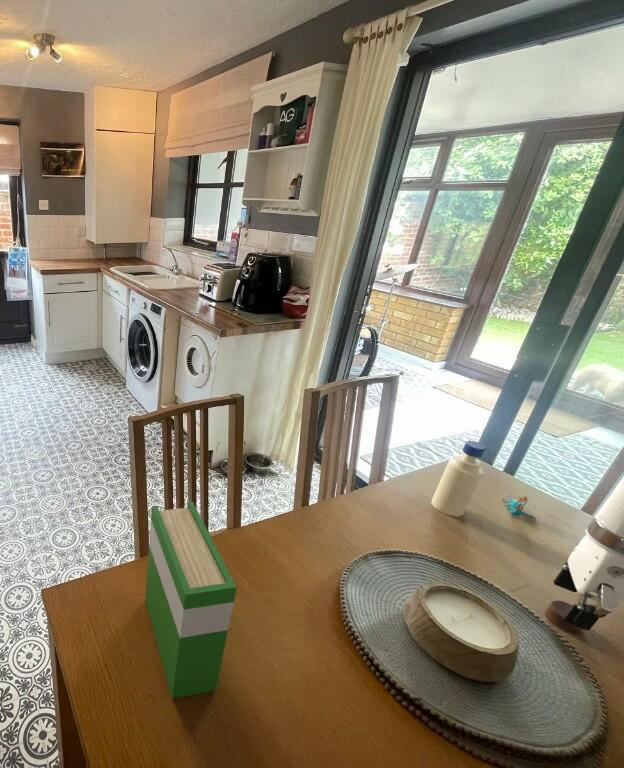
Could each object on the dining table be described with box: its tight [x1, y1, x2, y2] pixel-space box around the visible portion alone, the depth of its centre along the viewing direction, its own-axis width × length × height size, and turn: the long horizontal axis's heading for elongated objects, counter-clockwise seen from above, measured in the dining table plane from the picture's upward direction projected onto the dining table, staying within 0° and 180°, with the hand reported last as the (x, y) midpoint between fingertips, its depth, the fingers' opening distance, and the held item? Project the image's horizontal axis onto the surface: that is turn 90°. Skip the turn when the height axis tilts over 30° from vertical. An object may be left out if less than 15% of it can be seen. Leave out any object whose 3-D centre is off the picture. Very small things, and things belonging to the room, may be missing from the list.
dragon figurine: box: [505, 493, 536, 519], centre depth 107 cm, size 7×7×8 cm
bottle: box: [431, 440, 487, 517], centre depth 103 cm, size 7×7×19 cm
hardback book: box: [144, 501, 238, 700], centre depth 69 cm, size 18×7×24 cm, turn 10°
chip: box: [544, 599, 584, 635], centre depth 78 cm, size 5×5×3 cm
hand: (569, 605), depth 77 cm, fingers open, 9 cm apart
